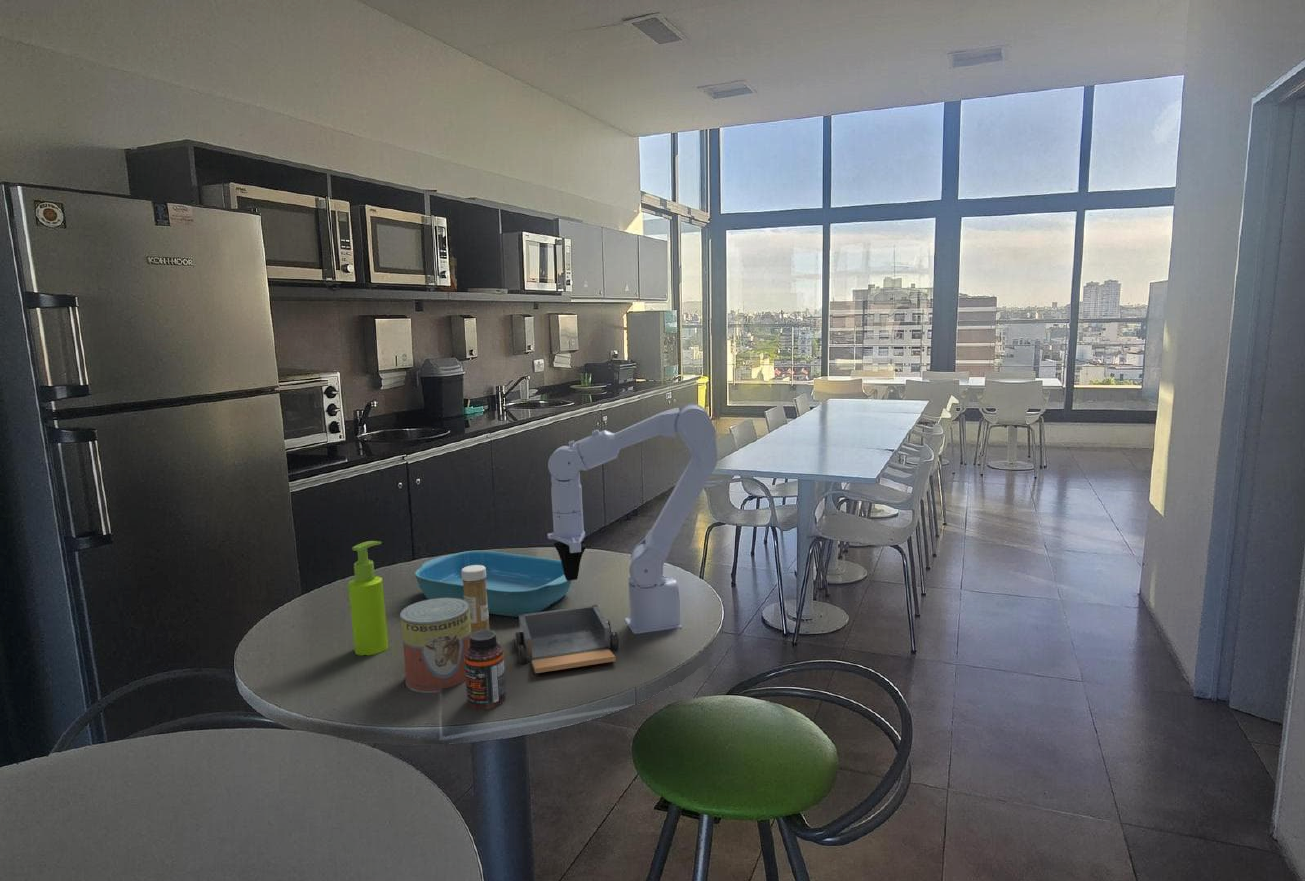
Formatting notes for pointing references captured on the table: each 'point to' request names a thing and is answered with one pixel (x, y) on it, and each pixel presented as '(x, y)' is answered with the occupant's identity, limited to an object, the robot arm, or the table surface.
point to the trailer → (563, 633)
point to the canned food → (435, 643)
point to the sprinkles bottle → (476, 596)
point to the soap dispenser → (367, 605)
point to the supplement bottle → (485, 671)
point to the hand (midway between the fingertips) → (571, 579)
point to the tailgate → (573, 661)
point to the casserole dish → (498, 580)
